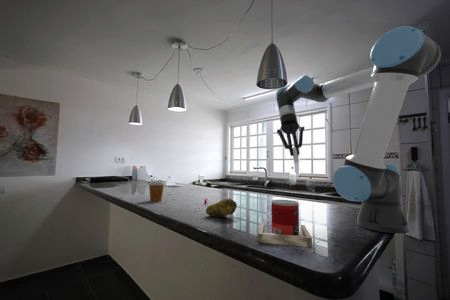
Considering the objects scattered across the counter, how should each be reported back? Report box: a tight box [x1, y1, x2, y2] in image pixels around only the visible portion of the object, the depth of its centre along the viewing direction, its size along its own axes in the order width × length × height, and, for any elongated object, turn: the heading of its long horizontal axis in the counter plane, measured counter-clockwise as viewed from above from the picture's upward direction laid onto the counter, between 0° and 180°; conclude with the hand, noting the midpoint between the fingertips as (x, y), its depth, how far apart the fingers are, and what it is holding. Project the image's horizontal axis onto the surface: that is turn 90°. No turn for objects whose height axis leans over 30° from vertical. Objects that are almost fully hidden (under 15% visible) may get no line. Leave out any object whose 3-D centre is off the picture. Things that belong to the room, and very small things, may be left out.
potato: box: [205, 198, 238, 218], centre depth 88 cm, size 8×13×8 cm, turn 52°
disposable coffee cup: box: [148, 180, 165, 202], centre depth 126 cm, size 10×10×12 cm
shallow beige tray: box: [257, 221, 313, 248], centre depth 64 cm, size 14×13×2 cm
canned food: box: [270, 199, 300, 236], centre depth 63 cm, size 8×8×11 cm
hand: (296, 162), depth 92 cm, fingers closed
